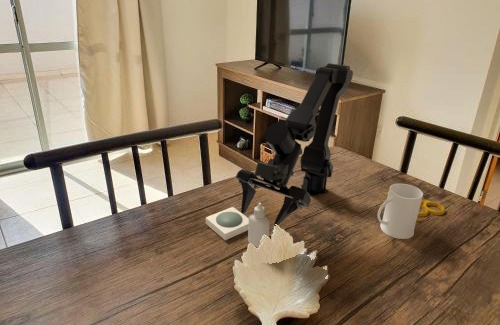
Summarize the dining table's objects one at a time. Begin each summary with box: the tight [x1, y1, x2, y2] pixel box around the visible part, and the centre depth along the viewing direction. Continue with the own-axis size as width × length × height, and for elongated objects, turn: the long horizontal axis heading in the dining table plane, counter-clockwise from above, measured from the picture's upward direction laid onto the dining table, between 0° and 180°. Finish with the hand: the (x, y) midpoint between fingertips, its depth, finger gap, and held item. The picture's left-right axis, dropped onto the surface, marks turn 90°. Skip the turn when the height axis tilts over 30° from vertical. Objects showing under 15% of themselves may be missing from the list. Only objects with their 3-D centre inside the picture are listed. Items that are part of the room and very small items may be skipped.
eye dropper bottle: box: [247, 202, 270, 247], centre depth 89 cm, size 4×6×12 cm
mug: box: [377, 183, 424, 240], centre depth 96 cm, size 12×8×12 cm
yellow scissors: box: [416, 198, 446, 222], centre depth 108 cm, size 17×2×10 cm
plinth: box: [205, 206, 249, 241], centre depth 98 cm, size 9×9×2 cm
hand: (258, 219), depth 88 cm, fingers open, 9 cm apart
